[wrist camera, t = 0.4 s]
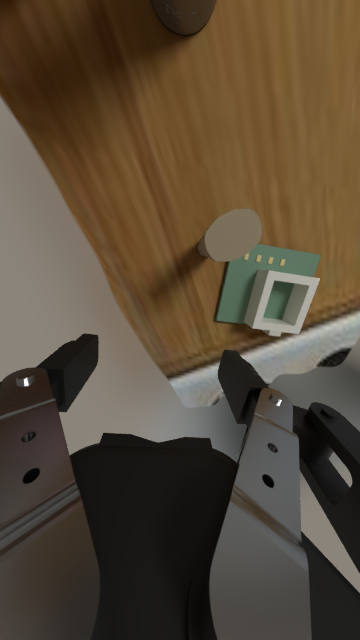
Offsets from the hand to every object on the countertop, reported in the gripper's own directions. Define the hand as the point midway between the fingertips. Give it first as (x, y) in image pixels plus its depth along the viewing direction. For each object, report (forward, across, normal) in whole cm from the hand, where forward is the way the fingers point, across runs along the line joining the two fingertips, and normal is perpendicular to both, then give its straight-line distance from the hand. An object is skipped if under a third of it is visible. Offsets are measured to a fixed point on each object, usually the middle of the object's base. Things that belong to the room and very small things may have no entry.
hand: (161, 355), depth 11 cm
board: (+26, -20, -3) cm, 33 cm away
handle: (+26, -6, -9) cm, 28 cm away
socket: (+25, -22, -1) cm, 33 cm away
